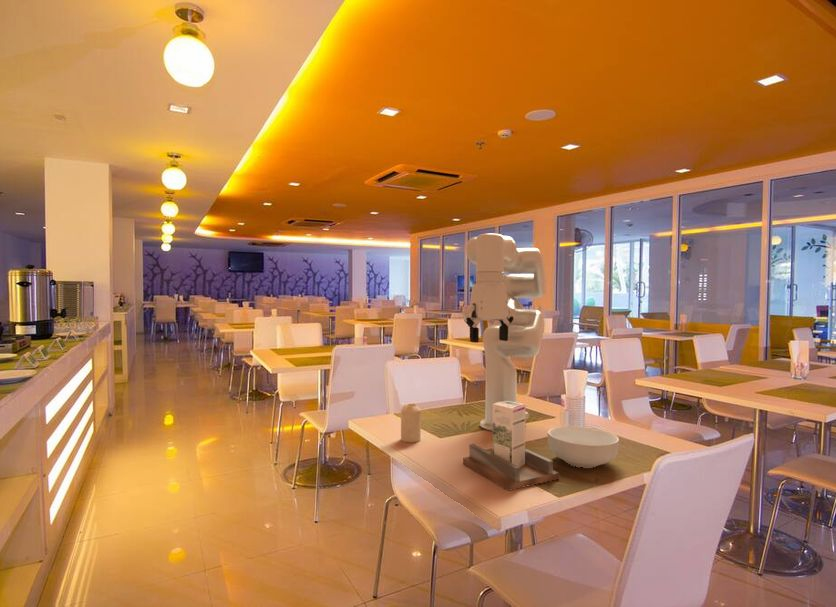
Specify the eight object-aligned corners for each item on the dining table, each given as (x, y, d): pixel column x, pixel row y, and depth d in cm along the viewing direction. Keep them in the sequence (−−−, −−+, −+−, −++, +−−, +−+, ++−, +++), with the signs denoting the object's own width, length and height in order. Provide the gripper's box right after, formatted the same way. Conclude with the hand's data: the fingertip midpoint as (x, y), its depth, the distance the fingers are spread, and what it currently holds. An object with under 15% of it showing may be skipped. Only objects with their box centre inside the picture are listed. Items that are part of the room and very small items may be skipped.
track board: (509, 455, 128) (509, 438, 128) (558, 479, 112) (559, 459, 112) (463, 463, 122) (463, 445, 122) (508, 490, 106) (508, 469, 106)
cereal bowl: (634, 471, 117) (634, 441, 117) (572, 478, 113) (573, 447, 113) (589, 449, 134) (590, 423, 134) (534, 454, 129) (534, 427, 129)
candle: (418, 443, 138) (418, 407, 137) (398, 442, 139) (399, 406, 138) (422, 437, 143) (422, 403, 143) (403, 436, 144) (403, 402, 144)
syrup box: (526, 464, 117) (526, 403, 117) (511, 471, 113) (512, 407, 112) (505, 458, 121) (506, 399, 121) (491, 464, 117) (491, 403, 116)
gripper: (507, 279, 144) (506, 338, 145) (455, 278, 136) (455, 341, 137) (523, 279, 138) (522, 341, 138) (470, 278, 130) (470, 344, 130)
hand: (489, 341), depth 138 cm, fingers open, 9 cm apart
